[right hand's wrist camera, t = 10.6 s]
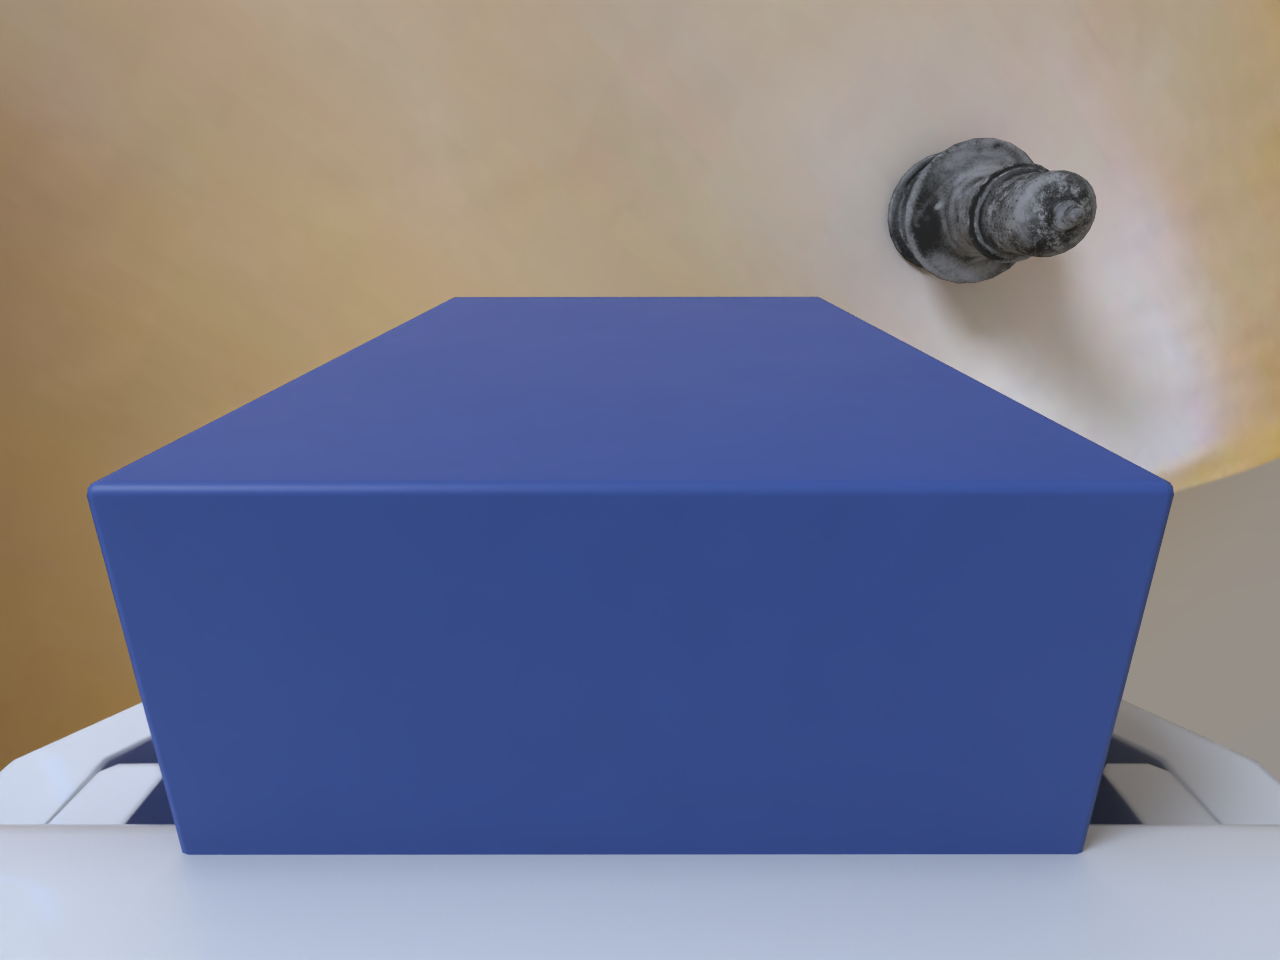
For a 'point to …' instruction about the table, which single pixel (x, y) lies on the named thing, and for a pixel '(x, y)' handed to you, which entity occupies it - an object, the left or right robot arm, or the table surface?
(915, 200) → the chess piece
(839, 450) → the bar
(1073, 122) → the table surface
